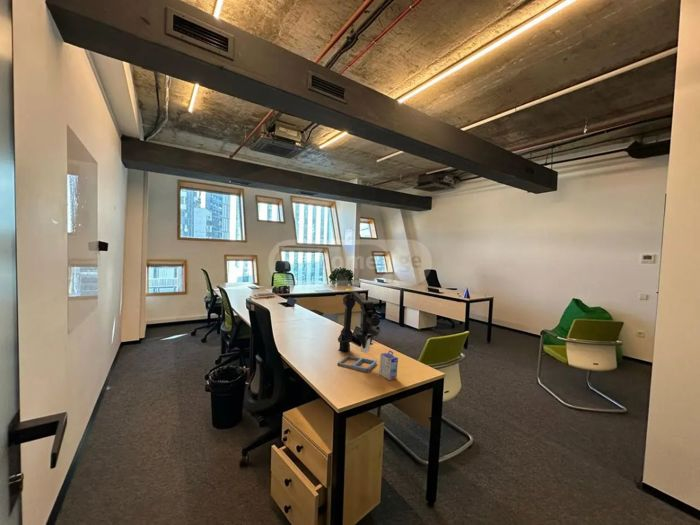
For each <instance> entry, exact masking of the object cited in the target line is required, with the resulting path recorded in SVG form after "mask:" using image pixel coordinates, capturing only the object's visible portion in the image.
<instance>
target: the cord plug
mask: <svg viewBox="0 0 700 525" xmlns="http://www.w3.org/2000/svg"><path fill="white" fill-rule="evenodd" d="M360 344H361V343H360ZM370 345H371V338H369V339H368V340H367V341H366V346H365V348H363V346H362V344H361V346H360V353H361V352H362V353H365V354H368V353H369V352H370V349H371V346H370Z"/></svg>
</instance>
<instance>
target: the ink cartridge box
mask: <svg viewBox="0 0 700 525" xmlns="http://www.w3.org/2000/svg"><path fill="white" fill-rule="evenodd" d="M379 360H380V361H379V370H378V371H379V373H378V374H379V375H380V376H381V377H383V378H385V379H387V380H389V381H393V380H397V379H398V378H397V376H398V364H399V363H398V362H399V357H397V356H395V355H394V352H393V351H392V350H390V349H389V351H388V352H383V353H380V359H379Z"/></svg>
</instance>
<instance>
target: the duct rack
mask: <svg viewBox="0 0 700 525" xmlns="http://www.w3.org/2000/svg"><path fill="white" fill-rule="evenodd" d="M348 359H351V360H355V362H354V363H353V364H352V365H351V364H347V363H344V362H346V361H347V360H348ZM377 362H378V361H377V360H376V359H375V360H374V359H371V358H370V359H369V358H365V357H359V356H354V355H353V356H352V355H350V354H349V355H346V356H345V357H344V358H343V359H341V360H340V361H338V362H337V366H340V367H343V368H348V369H352V370H356V371H360V372H364V373H369V372H370V371H371V370H372V369H373V367H375V366H376V365H377ZM362 363H368V364H369V365H368V367H363V366H361V365H360V364H362ZM359 365H360V366H359Z"/></svg>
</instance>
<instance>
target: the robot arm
mask: <svg viewBox="0 0 700 525" xmlns="http://www.w3.org/2000/svg"><path fill="white" fill-rule="evenodd" d="M356 303H357V304H358V305H359V306H360V310H361V314H362V315H361V316H362V319H361V323H360V326H361V330H360V332H358V333H357V334H355V339H357V340H359V341H360V344H362V346H363V348H365V346H366V341H367V340H368V339H369V338H370V339H371V338H372V337H373V336H374V337H378V336H379V335H380V333H381V332H382V331H381V327H380V326H379V324H380V322H381V320H380V318H379V317H378V314H377V309H376V307H375V303H374V302H373V301H371V300H368V299H366V298H364V297H363V296H362V295H360V294H359V292H358V291H352V292H349V293H348V294H346V295H344V296H343V297H342V304H343V306H344V317H343V319H344V321H343V327H342V329H341V330H340V334H339V336H338V337H337V342H338V343H339V349H338V351H339V352H343V353H348V352H349V351H350V350H351V343H352V342H353V341H352V340H353V337H354V335H353V334H354V333H353V331H352V329H351V327H352V326H351V325H352V315H353V314H352V313H353V308H354V307H355V306H356Z"/></svg>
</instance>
